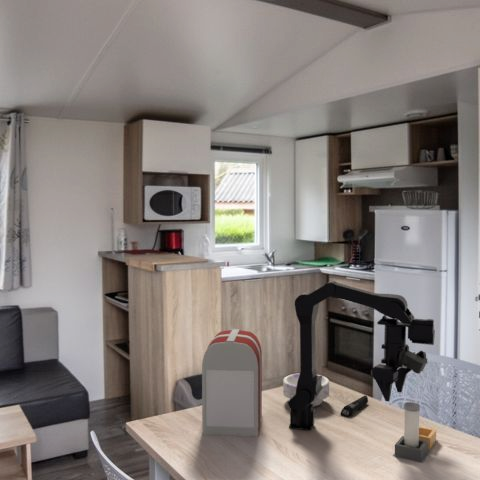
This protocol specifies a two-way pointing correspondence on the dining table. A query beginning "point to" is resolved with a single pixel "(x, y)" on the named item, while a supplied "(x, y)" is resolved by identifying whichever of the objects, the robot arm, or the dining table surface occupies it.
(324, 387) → the paper bowls
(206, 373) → the arched-top grey box
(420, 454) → the two-tone square organizer tray
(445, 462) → the dining table surface
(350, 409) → the electric trimmer
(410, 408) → the plug
